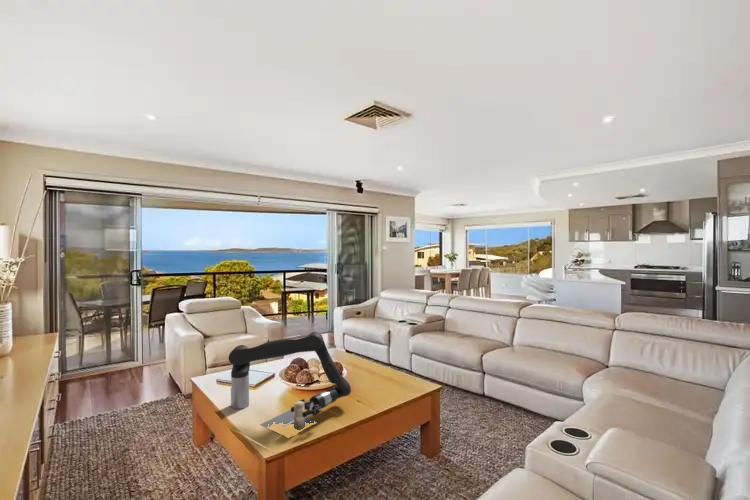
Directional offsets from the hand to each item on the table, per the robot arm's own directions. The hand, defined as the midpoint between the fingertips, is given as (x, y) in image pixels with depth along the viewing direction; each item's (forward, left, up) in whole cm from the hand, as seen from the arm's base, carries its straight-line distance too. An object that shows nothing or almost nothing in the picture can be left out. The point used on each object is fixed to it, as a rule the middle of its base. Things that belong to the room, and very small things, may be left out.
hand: (297, 412), depth 183 cm
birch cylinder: (0, +2, -8) cm, 8 cm away
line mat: (-7, +1, -8) cm, 11 cm away
